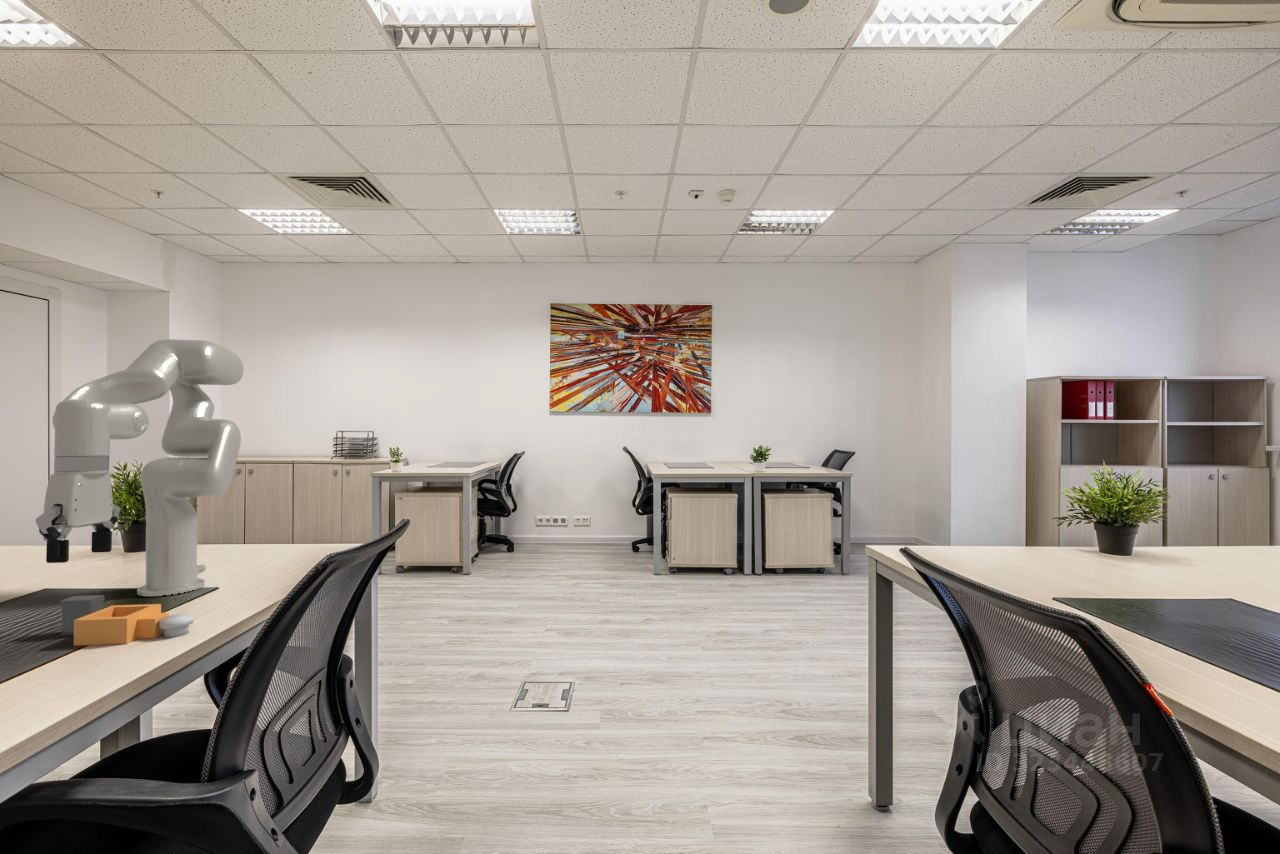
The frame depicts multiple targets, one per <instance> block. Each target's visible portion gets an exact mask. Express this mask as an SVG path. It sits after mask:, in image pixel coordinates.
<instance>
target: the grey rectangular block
mask: <svg viewBox="0 0 1280 854" xmlns="http://www.w3.org/2000/svg"><path fill="white" fill-rule="evenodd" d="M104 601H105V594H104V595H101V594H97V595H74V596H71V597H68V598H64V599H61V600H59V607H61V636H62V637H68V636H69V637H70V636H73V637H74V620H76V619H78V618H81V617H84V616H86V615H89V614H92V613H94V612H97V611H99V610H102V609H103V602H104Z"/></svg>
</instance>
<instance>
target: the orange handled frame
mask: <svg viewBox="0 0 1280 854" xmlns="http://www.w3.org/2000/svg"><path fill="white" fill-rule="evenodd" d="M194 619H195V618H194V614H192V613H179V614H172V615H170V612H162V604H161V603H153V604H152V603H150V604H148V603H145V604H122V605H120V604H117V605H116V604H115V605H110V606H107V607H105V608H102V610H99V611H97V612H94V613H92V614H89V615H86V616H84V617H81V618H78V619H76V620H74V636H73V646H74V647H75V646H77V647H78V646H103V645H105V646H106V645H123V644H124V645H126V644H129V643H132V642H133V641H135V640H137V639H138V640H139V639H156V638H158V637H160V636H162V635H163V637H164V638H176V637H181V636H184V635H185V636H186V635H187V634H189V633H190V625H191V624H193V623H194Z"/></svg>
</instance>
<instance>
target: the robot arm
mask: <svg viewBox="0 0 1280 854" xmlns="http://www.w3.org/2000/svg"><path fill="white" fill-rule="evenodd" d="M243 376H244V364H243V362H242V360H241V358H240V357H239V355H238V354H237V353H235V352H233V351H232V350H229V349H227V348H226V347H223V346H221V345H219V344H216V343H215V342H211V341H207V340H200V339H199V340H198V339H170V338H169V339H168V338H167V339H160V340H157V341H155V342H153V343H151V344H150V345H149V346H148V347H147V348H146V349H145V350H144V351H143V352H142V353H141V354H140V355H139V356H138V357H137V358H136V359H134V360H133V362H132V363H130V365H129V366H128V367H127V368H126V369H123V370H119V371H118V372H117V371H116V372H113V373H110V374H108V375H105V376H103V377H100V378H98V379H95V380H92V381H90V382H87V383H85V384H83V385H81V386H79V387H77V388H76V389H74V390H73V391H72V392H70V393H69V394H68V395H67V396H66V397H65V398H64V399H63V400H62V401H60V402H58V403H57V405H55V411H54V413H53V416H52V426H53V428H54V453H53V454H54V455H53V456H54V457H53V458H54V459H53V460H54V462H53V474H50V476H49V480H48V483H47V486H46V492H45V496H44V497H45V498H44V505H43V513H42V514H40V515H39V516H37V517H36V518H35V523H36V525H37V528H38V529H39V530H38V532H39V534H40V535H42V537H43V538H42V540H43V541H44V542H46V549H45V551H46V553H45V554H46V556H45V558H46V559H45V561H46V563H47V564H56V563H57V564H60V563H63V564H64V563H67V562H69V559H70V556H69V555H70V553H69V552H70V540H69V539H67V537H68V536H69V534H70V533H71V531H72V529H76V528H83V527H89V526H91V528H93V530H94V531H92V532H91V552H92V553H93V554H94V553H97V554H98V553H110V552H111V551H112V549H113V548H112V547H113V546H112V545H113V543H112V542H113V531H114V530H115V529H116V527H115V525H116V523H117V522H118V519H119V518H118V517H119V514H120V511H121V507H120V506H118V505H117V504H114V502H113V499H114V498H113V486H112V480H111V475H110V452H111V451H110V447H111V445H110V444H111V443H110V442H111V440H131V439H135V438H138V437H140V436H141V435H144V434H145V433H146V431H147V429H148V428H149V426H150V425H149V424H150V418H149V415H148V413H147V411H146V410H145V409H144V408H142V407H141V406H140V404H144V403H149V402H150V401H151V402H152V401H155V400H157V399H160V398H163V397H164V396H166V395H167V394H168V392H169V391H170V393H171V397H172V406H171V410H170V414H169V416H168V419H167V422H166V425H165V428H164V432H163V435H162V438H161V447H162V451H164V452H165V454H167V455H169V456H172V457H162V458H161V457H160V458H156V459H153V460H150V461H149V462H147V463H146V464H145V465H144V466H143V467H142V469H141V472H140V486H141V489H142V493H143V497H144V498H143V499H144V504H145V523H146V524H145V585H141V586H140V587H137V590H136V594H137V595H138V596H140V597H162V596H163V595H166V596H172V595H171V594H173V595H178V593H180V594H184V592H185V593H188V591H189V592H192V590H193V591H195V590H200V589H201V588H203V587H204V586H205V585H206V584H205V579H203V578H198V575H199V574H201V573H203V572H205V571H206V570H207V566H206V565H205V564H199V565H198V564H197V563H198V558H197V557H198V555H197V553H198V549H197V548H198V515H197V511H196V508H195V507H194V506H193V505H192V504H191V502H190V501H189V499H188V498H207V497H209V498H211V497H219V496H222V495H224V494H225V493H226V492H227V491H228V490H229V489H230V488H229V487H230V486H231V484H232V483H231V482H232V481H233V476H234V471H235V468H236V465H237V460H238V456H239V453H240V448H241V440H242V439H241V435H242V434H241V432H240V428H239V426H238V425H237V424H236V423H235V422H234V421H232V420H229V419H225V418H222V419H221V418H215V419H214V418H213V416H214V412H215V404H214V402H213V401H212V399H211V398H210V397H209V395H208V394H207V393H206V392H205V391H204V390H203V389H202V388H201V387H200V385H202V386H203V385H205V386H211V385H213V386H220V385H221V386H231V385H235V384H238V383H239V382H240V381H241V380H242V378H243ZM59 530H60V531H59ZM163 597H164V596H163Z"/></svg>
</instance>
